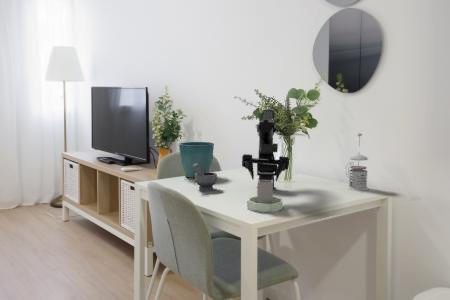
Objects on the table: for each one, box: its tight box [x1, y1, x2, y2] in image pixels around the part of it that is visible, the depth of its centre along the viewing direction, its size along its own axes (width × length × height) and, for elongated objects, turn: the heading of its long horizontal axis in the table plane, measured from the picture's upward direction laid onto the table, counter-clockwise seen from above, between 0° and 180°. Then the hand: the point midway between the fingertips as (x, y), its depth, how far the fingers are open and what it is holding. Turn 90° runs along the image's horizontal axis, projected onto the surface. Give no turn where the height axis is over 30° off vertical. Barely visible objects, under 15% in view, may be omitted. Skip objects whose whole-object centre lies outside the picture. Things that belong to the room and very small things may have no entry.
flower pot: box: [178, 141, 215, 179], centre depth 233 cm, size 18×18×17 cm
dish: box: [246, 195, 284, 213], centre depth 171 cm, size 13×13×3 cm
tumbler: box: [256, 180, 274, 204], centre depth 170 cm, size 6×6×10 cm
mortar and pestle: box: [193, 163, 218, 192], centre depth 202 cm, size 11×9×12 cm
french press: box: [345, 132, 369, 192], centre depth 204 cm, size 10×12×25 cm
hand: (264, 179), depth 179 cm, fingers open, 9 cm apart
